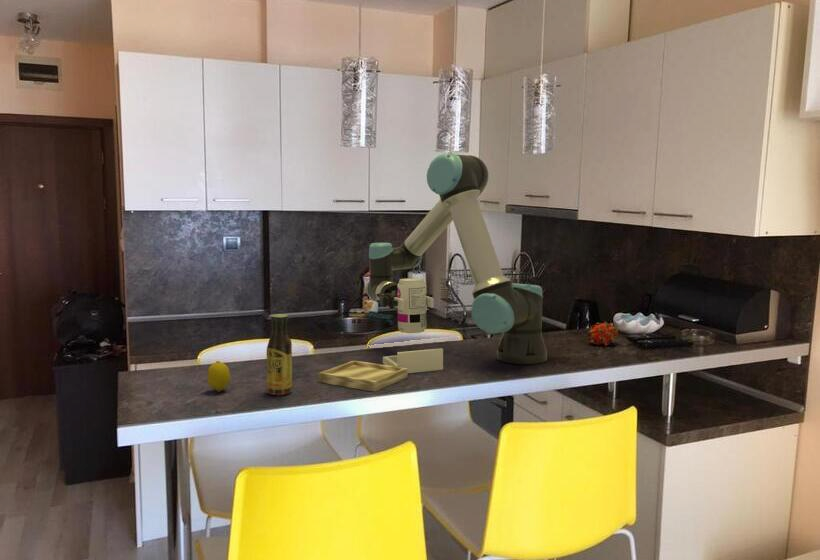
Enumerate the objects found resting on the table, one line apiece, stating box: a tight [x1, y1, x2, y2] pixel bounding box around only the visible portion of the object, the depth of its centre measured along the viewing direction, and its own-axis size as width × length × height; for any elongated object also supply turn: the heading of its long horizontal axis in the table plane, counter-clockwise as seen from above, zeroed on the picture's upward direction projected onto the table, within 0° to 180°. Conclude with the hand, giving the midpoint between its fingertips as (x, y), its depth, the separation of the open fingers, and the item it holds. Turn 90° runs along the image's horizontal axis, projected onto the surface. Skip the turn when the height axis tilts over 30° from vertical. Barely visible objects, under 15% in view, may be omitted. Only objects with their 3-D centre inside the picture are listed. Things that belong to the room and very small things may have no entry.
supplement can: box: [397, 277, 427, 334], centre depth 191 cm, size 8×8×15 cm
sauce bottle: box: [266, 313, 293, 397], centre depth 165 cm, size 6×6×20 cm
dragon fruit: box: [586, 320, 619, 347], centre depth 221 cm, size 8×8×12 cm
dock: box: [382, 348, 444, 374], centre depth 192 cm, size 14×14×6 cm
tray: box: [318, 360, 409, 393], centre depth 178 cm, size 18×16×2 cm
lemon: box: [206, 360, 231, 393], centre depth 167 cm, size 6×6×8 cm
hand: (418, 304), depth 186 cm, fingers closed on supplement can, 8 cm apart
